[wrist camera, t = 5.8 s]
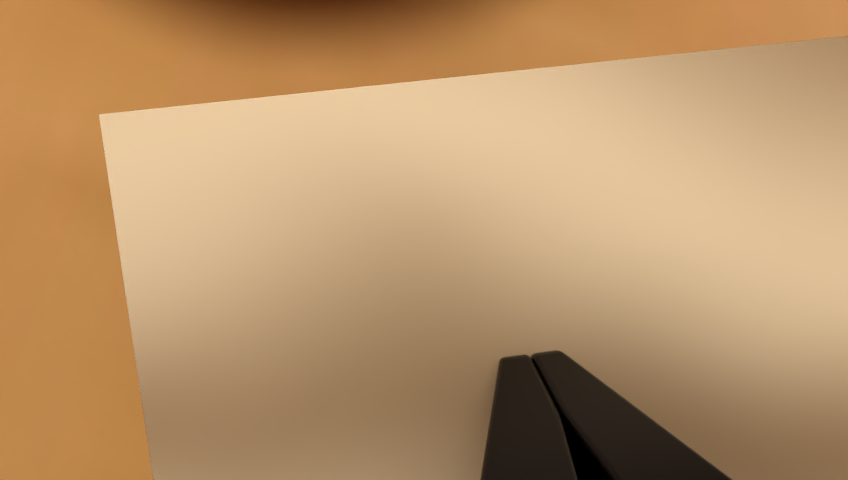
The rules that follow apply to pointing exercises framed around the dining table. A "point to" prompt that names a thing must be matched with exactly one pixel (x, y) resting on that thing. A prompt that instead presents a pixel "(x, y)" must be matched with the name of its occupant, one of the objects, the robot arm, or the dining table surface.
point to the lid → (492, 262)
